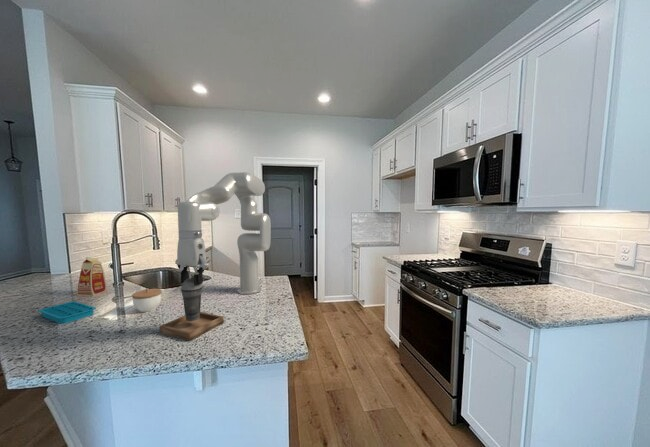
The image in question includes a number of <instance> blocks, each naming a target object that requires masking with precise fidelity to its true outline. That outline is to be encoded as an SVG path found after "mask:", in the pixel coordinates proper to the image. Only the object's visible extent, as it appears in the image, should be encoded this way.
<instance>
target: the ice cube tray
mask: <svg viewBox="0 0 650 447" xmlns="http://www.w3.org/2000/svg"><path fill="white" fill-rule="evenodd" d="M94 310H97V308H96V307H95V306H92V305H88V304H86V303H82V302H78V301H69V302H65V303H64V302H63V303H62V304H56V305H53V306H49V307H44V308H41V309H38V312H40V313H41V315H42V318H45V319H47V320H50V321H53V322H56V323H58V324H61V325H62V324H67V323H71V322H74V321H77V320H80V319H85V318H87V317H91V316H93V315H94Z"/></svg>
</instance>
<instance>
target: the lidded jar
mask: <svg viewBox="0 0 650 447" xmlns="http://www.w3.org/2000/svg"><path fill="white" fill-rule="evenodd" d="M162 293H163V291H162V289H160V288H150V289H149V287H148V288H145V289H144V290H140V291H136V292H134V293H133V294H131V295H132V296H131V297H132V303H133V304H132V305H133V306H134V308H135V309H136V310H137V311H139V312H140V313H147V312H151V311H154V310H156V309H157V307H159V305H160V304H161V301H162Z"/></svg>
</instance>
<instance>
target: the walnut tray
mask: <svg viewBox="0 0 650 447" xmlns="http://www.w3.org/2000/svg"><path fill="white" fill-rule="evenodd" d="M224 322H225V321H224V316H222V315H217V314H214V313H213V314H212V313H209V312H203V311H200V318H199V319H197V320H195V321H186V316H185V315H182V316H180V317H178V318H176V319H173V320H171V321H169V322H166V323H164V324H161V325H160V326H159V333H160V334H163V335H167V336H169V337H170V336H171V337H174V338H177V339H180V340H184V341H188V342H191V341H193V340H195V339H196V338H198V337H200V336H202V335H203V334H206V333H207V332H210V331H211V330H213V329H214V328H217V327H218V326H221V325H222V324H224Z"/></svg>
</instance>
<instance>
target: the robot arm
mask: <svg viewBox="0 0 650 447" xmlns="http://www.w3.org/2000/svg"><path fill="white" fill-rule="evenodd" d="M265 191H266V187H265V182H264V181H263V180H261V179H260V178H259V177H257V175H254V174H252V173H250V172H245V171H244V172H229V173H227V174H226V175H225V176H223V177H222V178H221V179H220V180H219V181H217V182H216V184H214V185H213V186H210V187H208V188H206V189H204V190H202V191H199V192H197V193H195V194H193V195H192V196H190V197H189V198H188V199H187V200H185V201H181V202H178V204H177V225H178V227H177V229H178V240H177V241H178V242H177V250H176V253H177V254H176V255H177V256H176V257H177V258H176V259H175V263H174V264H176V266H177V268H178V271H179V273H180V284H183V282H184V281H185V280H186V279H188V278H189V272H188V266H189V268H190V267H192V268H193V271H194V273H195V274H194V275H193V277H194V285H199V284H202V285H203V282H204V281H203V279H204V278H203V274H204V273H205V270H206V268H207V267H208V266H209V263H208V261H207V253H206V246H205V241H204V239H203V237H202V236H203V233H202V231H203V230H202V221H203V222H210V221H214V220H216V219H217V218H218V217H219V216H220V213H221V211H220V208H219V206H218V205H220V204H223V203H226V202H228V201H230V199H231V198H232V197H233V196H234V195H235V197H237V199H238V201H239V204H240V227H241V228H242V230H244V231H254V232H255V231H257V233H256V232H255V233H254V232H245V233H242V234H240V235H239V236H238V237H237V243H236V244H237V249H238V254H239V284H240V285H239V286H240V287H239V288H237V290H236V291H237V293H238V294H239V295H252V294H253V295H254V294H257V293H259V292H261V291H262V287H261V286H260V285H261V284H263V283H264V280H263V279H260V280H259V259H258V256H257V253H256V252H267V251H269V250H270V247H271V243H272V242H271V240H272V239H271V236H272V234H271V231H272V227H271V225H272V224H271V223H272V221H271V218H270V216H269V214H267V213H264V212H263V213H262V212H258V203H257V201H256V198H254V197H260V196H263V195H264V193H265ZM258 232H259V233H258Z"/></svg>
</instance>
